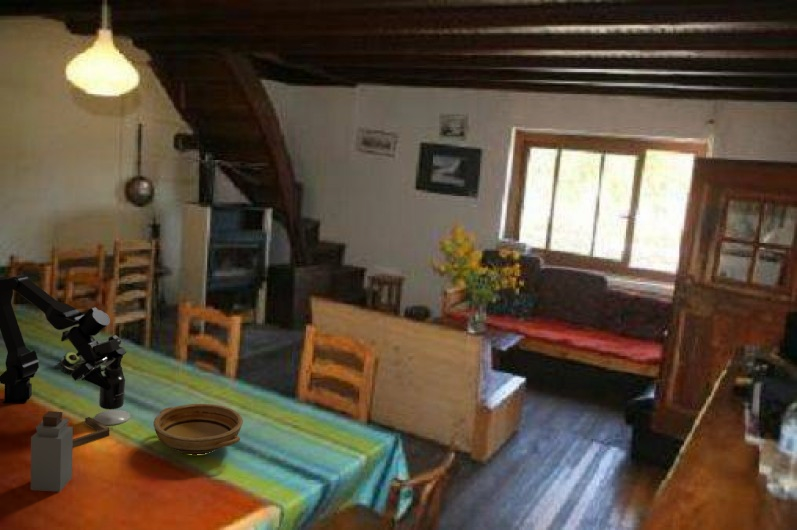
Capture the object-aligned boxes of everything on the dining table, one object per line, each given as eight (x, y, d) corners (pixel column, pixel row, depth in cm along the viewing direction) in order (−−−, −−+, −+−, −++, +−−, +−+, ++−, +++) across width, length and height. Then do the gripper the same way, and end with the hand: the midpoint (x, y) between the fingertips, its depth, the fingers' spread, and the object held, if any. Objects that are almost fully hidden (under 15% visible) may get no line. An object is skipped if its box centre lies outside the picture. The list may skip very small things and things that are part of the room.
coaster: (90, 425, 190) (90, 423, 190) (97, 411, 199) (97, 409, 199) (127, 425, 192) (127, 423, 192) (132, 411, 202) (132, 410, 202)
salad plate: (109, 354, 250) (109, 342, 249) (127, 368, 237) (127, 356, 237) (54, 361, 237) (55, 349, 236) (70, 377, 224) (71, 364, 223)
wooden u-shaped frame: (46, 435, 181) (47, 429, 181) (89, 422, 191) (89, 416, 191) (69, 448, 175) (69, 442, 175) (111, 434, 185) (111, 428, 185)
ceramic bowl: (127, 443, 182) (128, 416, 180) (197, 418, 202) (198, 394, 201) (198, 480, 166) (199, 451, 165) (265, 449, 186) (267, 423, 185)
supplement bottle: (120, 410, 192) (122, 372, 190) (96, 409, 191) (97, 371, 189) (126, 401, 199) (127, 364, 197) (102, 400, 198) (103, 363, 196)
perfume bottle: (43, 475, 161) (44, 407, 158) (71, 477, 161) (73, 409, 158) (30, 490, 154) (31, 419, 151) (60, 491, 155) (61, 421, 152)
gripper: (81, 337, 183) (115, 381, 183) (122, 321, 201) (152, 361, 201) (56, 358, 185) (89, 402, 185) (98, 341, 204) (128, 381, 204)
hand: (116, 385), depth 194 cm, fingers closed on supplement bottle, 7 cm apart
